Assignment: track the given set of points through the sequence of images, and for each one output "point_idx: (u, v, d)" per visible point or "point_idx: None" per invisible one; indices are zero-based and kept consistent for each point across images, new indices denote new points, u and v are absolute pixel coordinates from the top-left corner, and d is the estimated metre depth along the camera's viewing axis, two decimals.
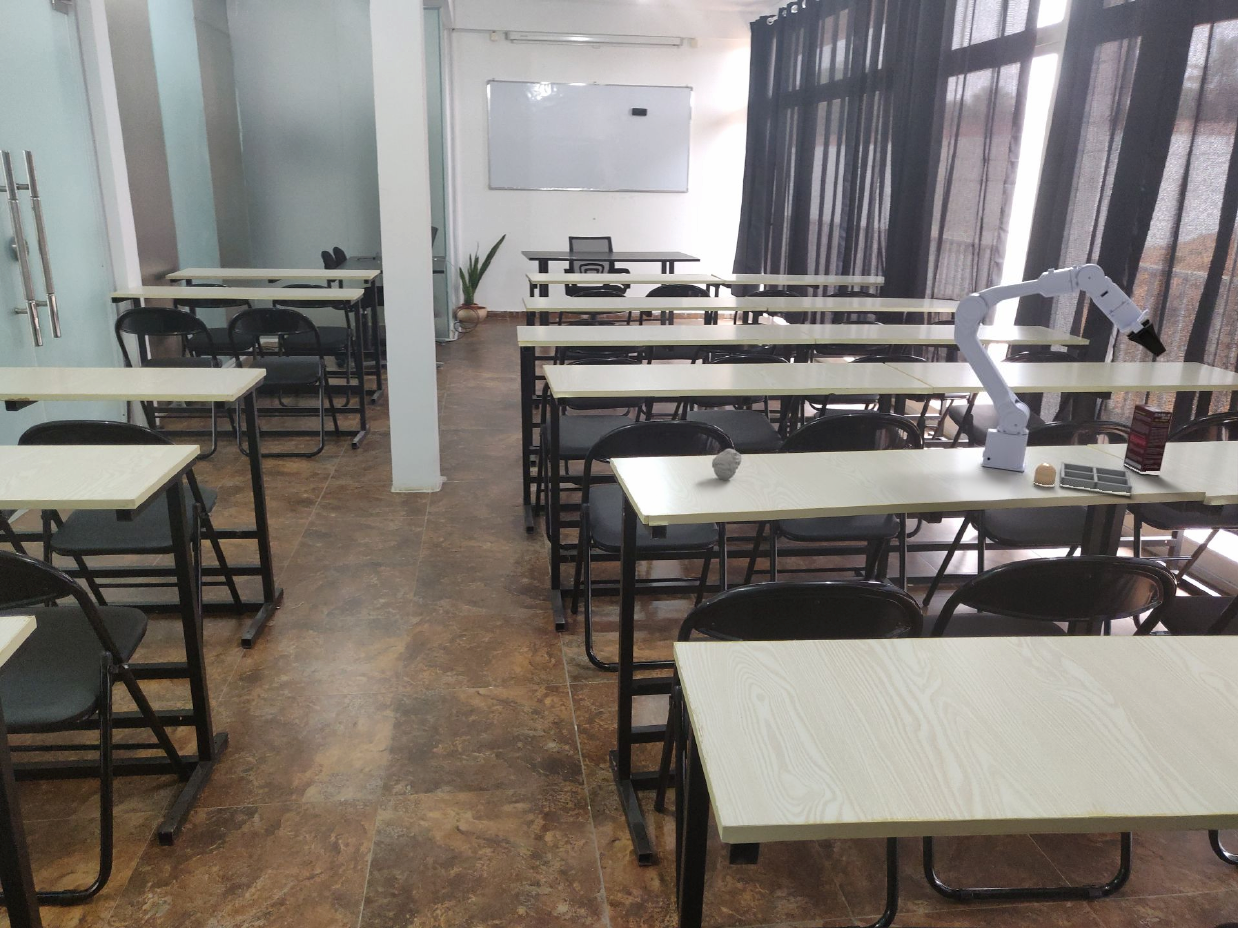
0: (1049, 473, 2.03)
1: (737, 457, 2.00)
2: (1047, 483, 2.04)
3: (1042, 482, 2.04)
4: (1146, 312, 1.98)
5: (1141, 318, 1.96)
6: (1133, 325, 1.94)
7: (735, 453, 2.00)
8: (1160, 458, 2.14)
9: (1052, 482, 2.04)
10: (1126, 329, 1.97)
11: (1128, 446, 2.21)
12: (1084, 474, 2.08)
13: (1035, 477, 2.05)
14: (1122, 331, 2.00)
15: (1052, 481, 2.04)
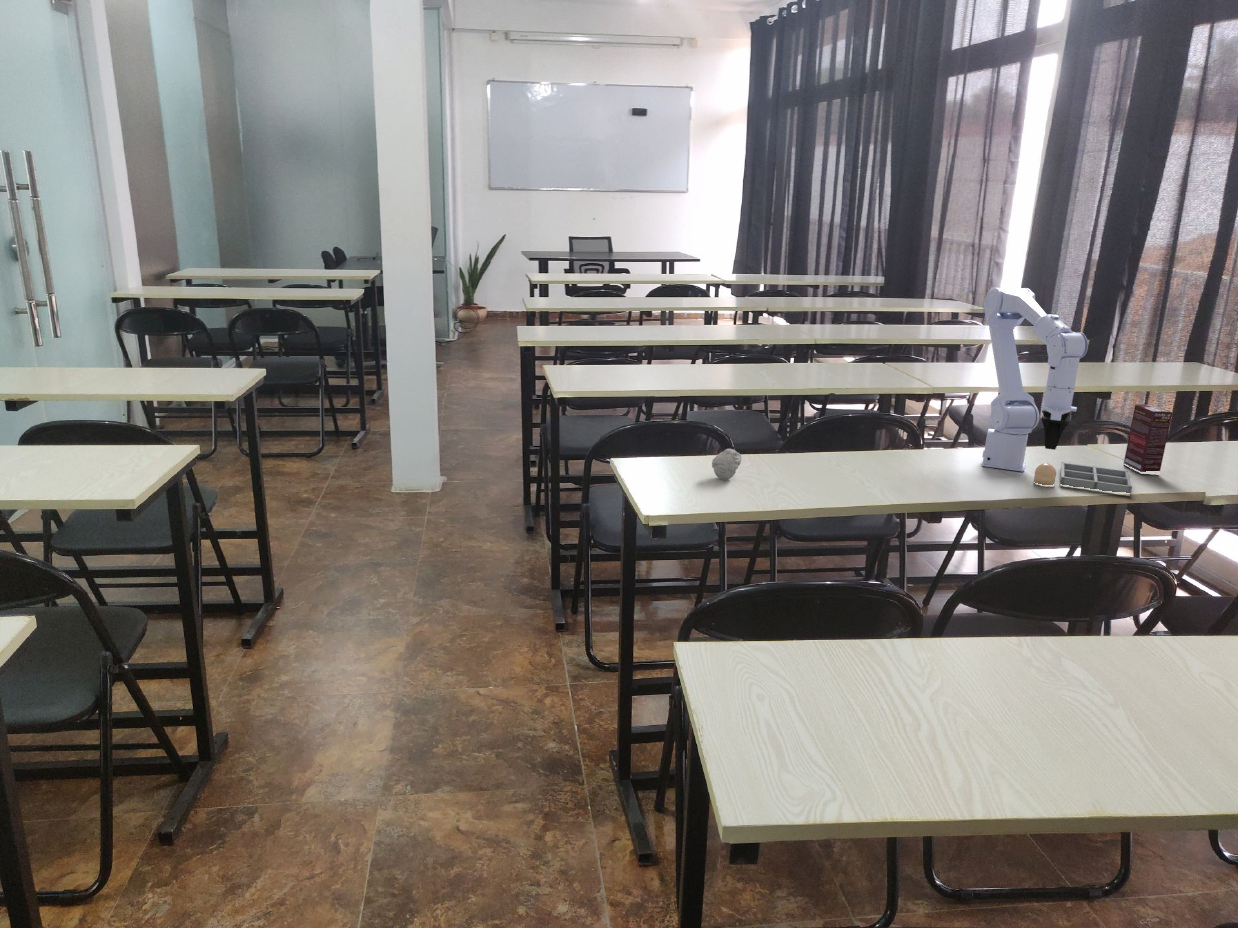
0: (1049, 473, 2.03)
1: (737, 457, 2.00)
2: (1047, 483, 2.04)
3: (1042, 482, 2.04)
4: (1073, 409, 1.98)
5: (1065, 411, 1.97)
6: (1055, 412, 1.95)
7: (735, 453, 2.00)
8: (1160, 458, 2.14)
9: (1052, 482, 2.04)
10: (1048, 409, 1.98)
11: (1128, 446, 2.21)
12: (1084, 474, 2.08)
13: (1035, 477, 2.05)
14: (1043, 407, 2.00)
15: (1052, 481, 2.04)
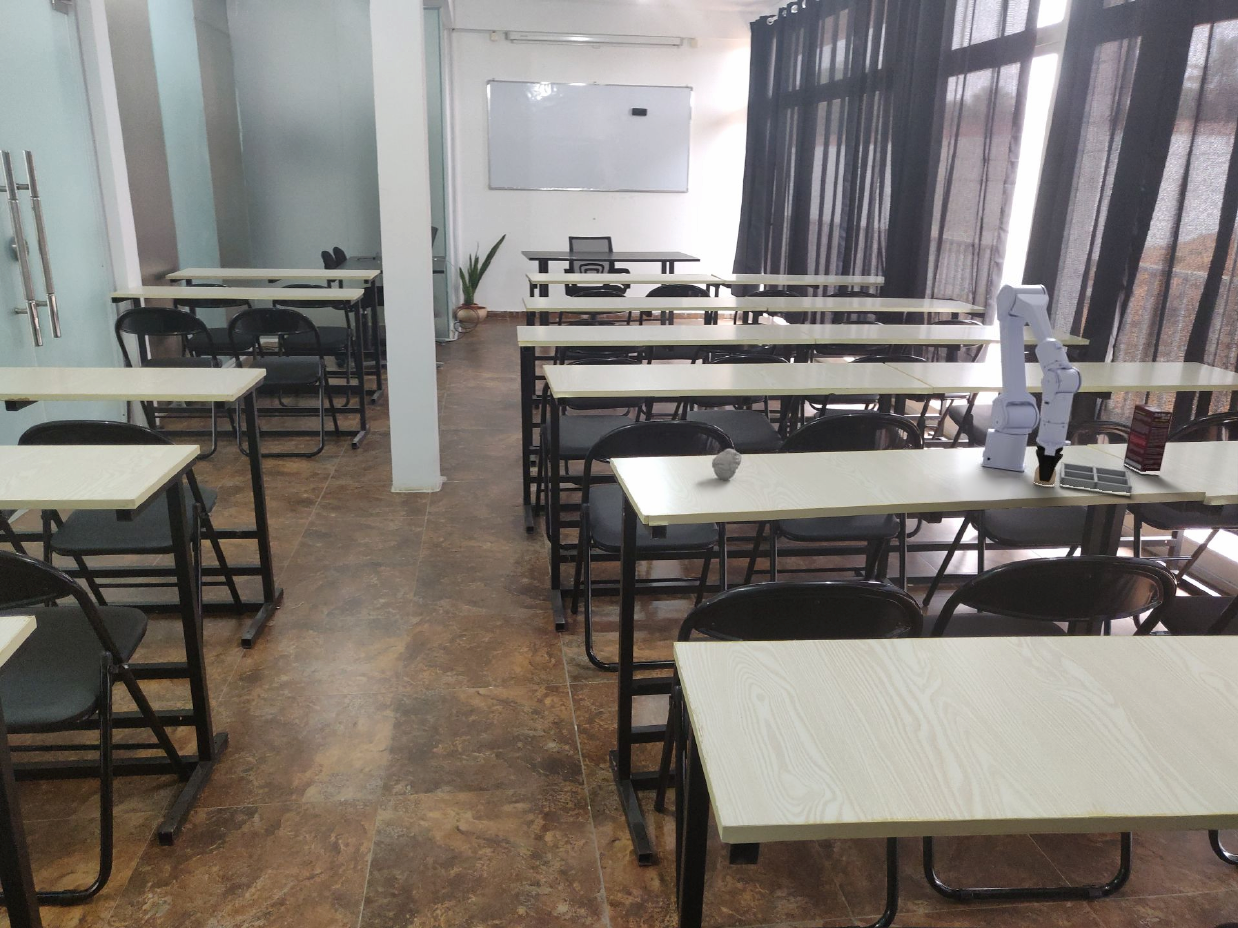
0: None
1: (737, 457, 2.00)
2: (1047, 483, 2.04)
3: (1042, 482, 2.04)
4: (1067, 444, 2.01)
5: (1059, 446, 1.99)
6: (1049, 447, 1.97)
7: (735, 453, 2.00)
8: (1160, 458, 2.14)
9: (1052, 482, 2.04)
10: (1042, 444, 2.00)
11: (1128, 446, 2.21)
12: (1084, 474, 2.08)
13: (1035, 477, 2.05)
14: (1038, 441, 2.03)
15: (1052, 481, 2.04)
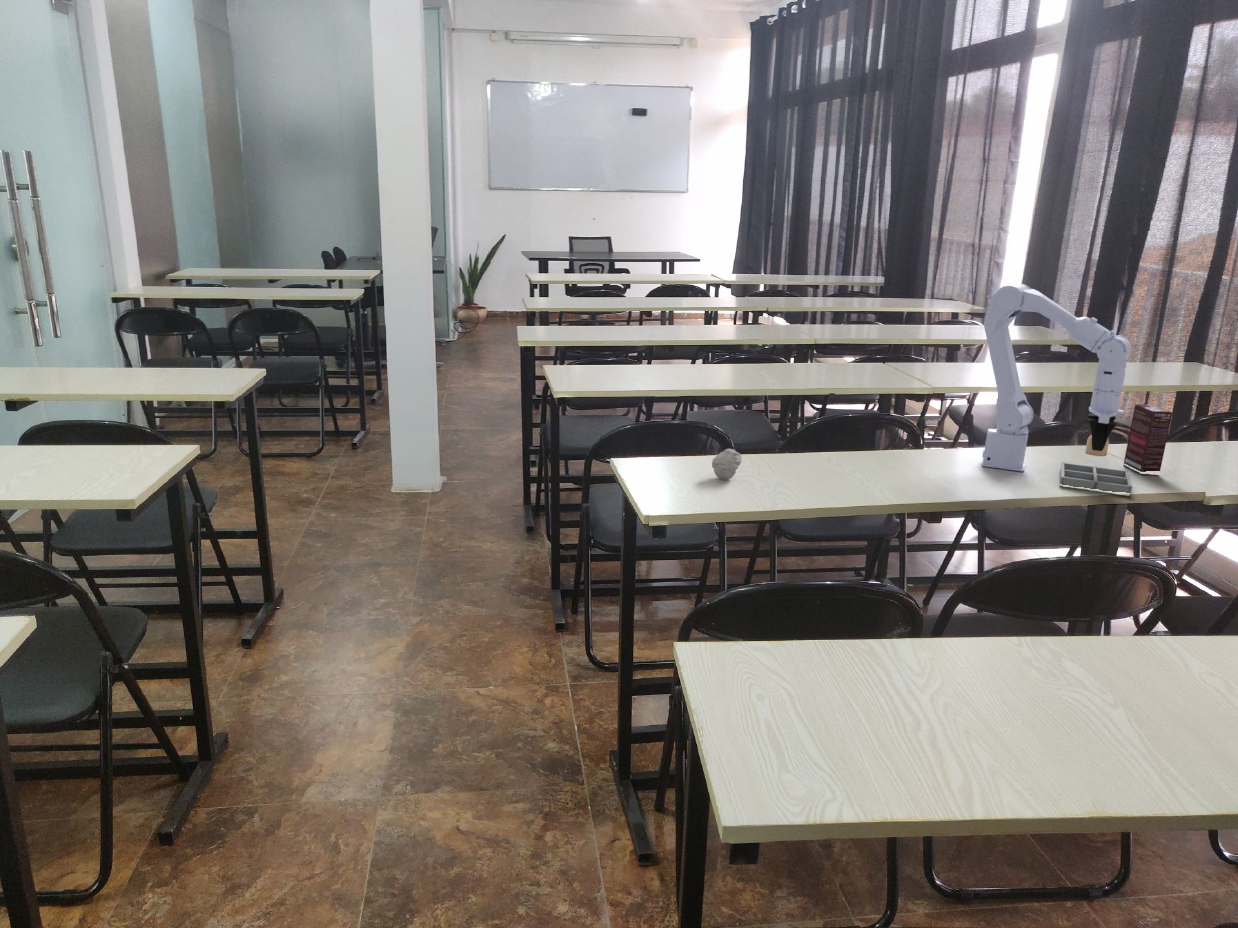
0: None
1: (737, 457, 2.00)
2: (1100, 452, 2.04)
3: (1095, 451, 2.04)
4: (1120, 412, 2.01)
5: (1113, 414, 1.99)
6: (1103, 415, 1.97)
7: (735, 453, 2.00)
8: (1160, 458, 2.14)
9: (1105, 451, 2.04)
10: (1095, 412, 2.01)
11: (1128, 446, 2.21)
12: (1084, 474, 2.08)
13: (1087, 446, 2.06)
14: (1090, 410, 2.03)
15: (1105, 450, 2.04)
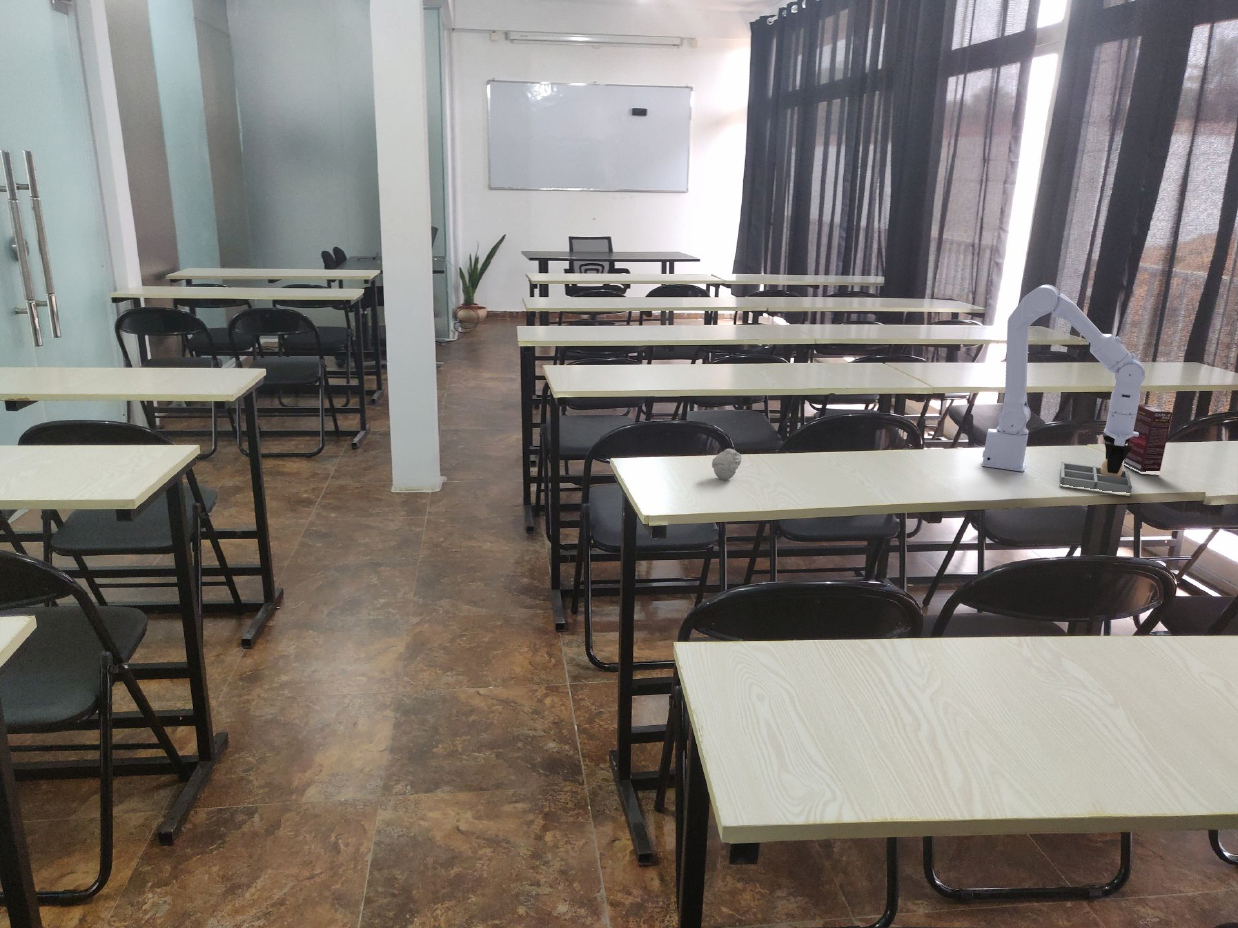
0: None
1: (737, 457, 2.00)
2: None
3: None
4: (1135, 434, 2.04)
5: (1128, 437, 2.02)
6: (1119, 438, 2.00)
7: (735, 453, 2.00)
8: (1160, 458, 2.14)
9: (1119, 476, 2.07)
10: (1110, 435, 2.03)
11: None
12: (1084, 474, 2.08)
13: (1102, 471, 2.09)
14: (1106, 432, 2.06)
15: (1119, 475, 2.07)
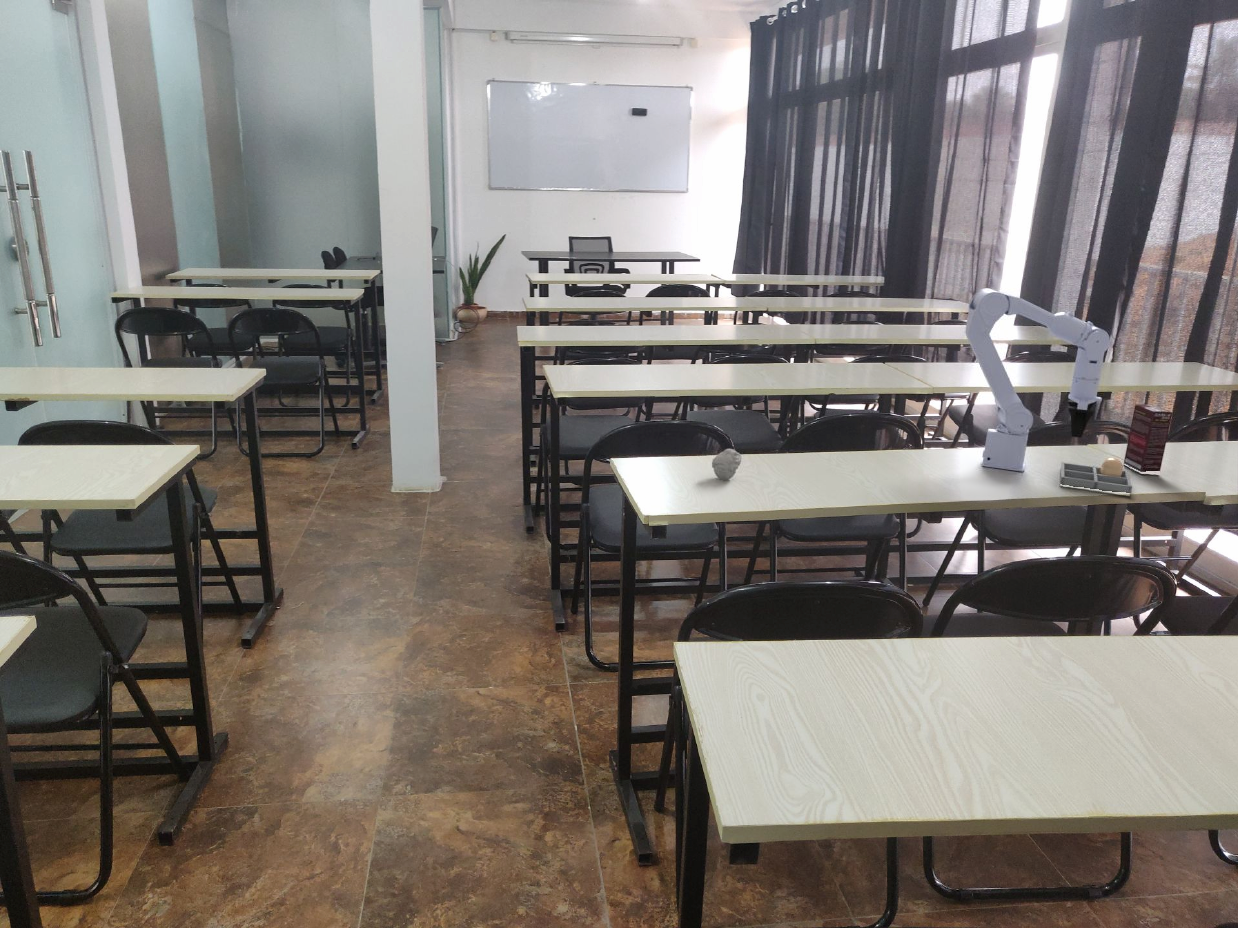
0: (1116, 467, 2.06)
1: (737, 457, 2.00)
2: None
3: None
4: (1098, 399, 2.10)
5: (1091, 401, 2.08)
6: (1082, 402, 2.06)
7: (735, 453, 2.00)
8: (1160, 458, 2.14)
9: (1119, 476, 2.07)
10: (1074, 399, 2.10)
11: (1128, 446, 2.21)
12: (1084, 474, 2.08)
13: (1102, 471, 2.09)
14: (1070, 397, 2.12)
15: (1119, 475, 2.07)
